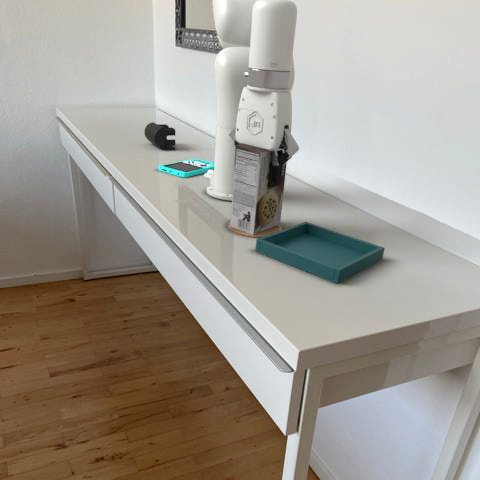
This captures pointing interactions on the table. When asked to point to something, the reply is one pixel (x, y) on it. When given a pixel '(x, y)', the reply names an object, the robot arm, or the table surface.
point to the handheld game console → (187, 167)
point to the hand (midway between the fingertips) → (259, 180)
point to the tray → (320, 251)
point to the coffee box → (255, 191)
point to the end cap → (160, 135)
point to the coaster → (261, 234)
